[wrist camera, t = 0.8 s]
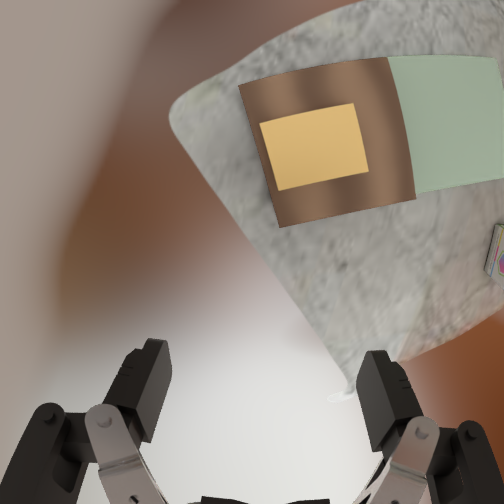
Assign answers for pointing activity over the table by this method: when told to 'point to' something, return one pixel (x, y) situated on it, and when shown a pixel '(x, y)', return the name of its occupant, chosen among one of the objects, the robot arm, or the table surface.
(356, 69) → the brown wooden block
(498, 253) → the ink box
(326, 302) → the table surface
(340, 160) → the tile
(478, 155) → the mat
